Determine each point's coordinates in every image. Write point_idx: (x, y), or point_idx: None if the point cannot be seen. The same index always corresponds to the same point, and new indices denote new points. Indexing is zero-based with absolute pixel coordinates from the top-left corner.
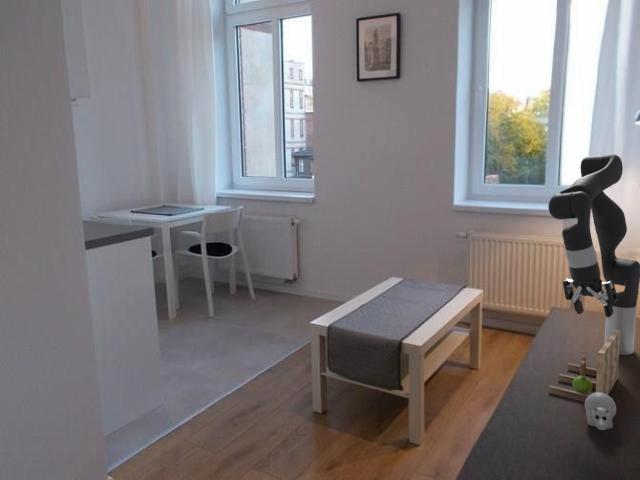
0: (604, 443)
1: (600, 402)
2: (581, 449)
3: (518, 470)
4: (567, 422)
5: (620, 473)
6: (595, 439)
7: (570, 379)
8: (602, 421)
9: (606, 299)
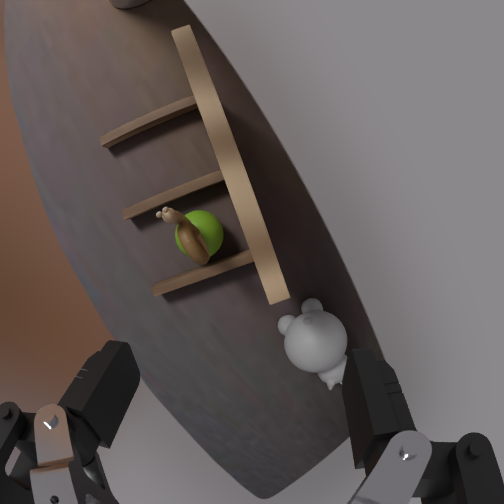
0: None
1: (330, 367)
2: (326, 403)
3: (296, 474)
4: (265, 363)
5: None
6: None
7: (151, 208)
8: None
9: (381, 473)
